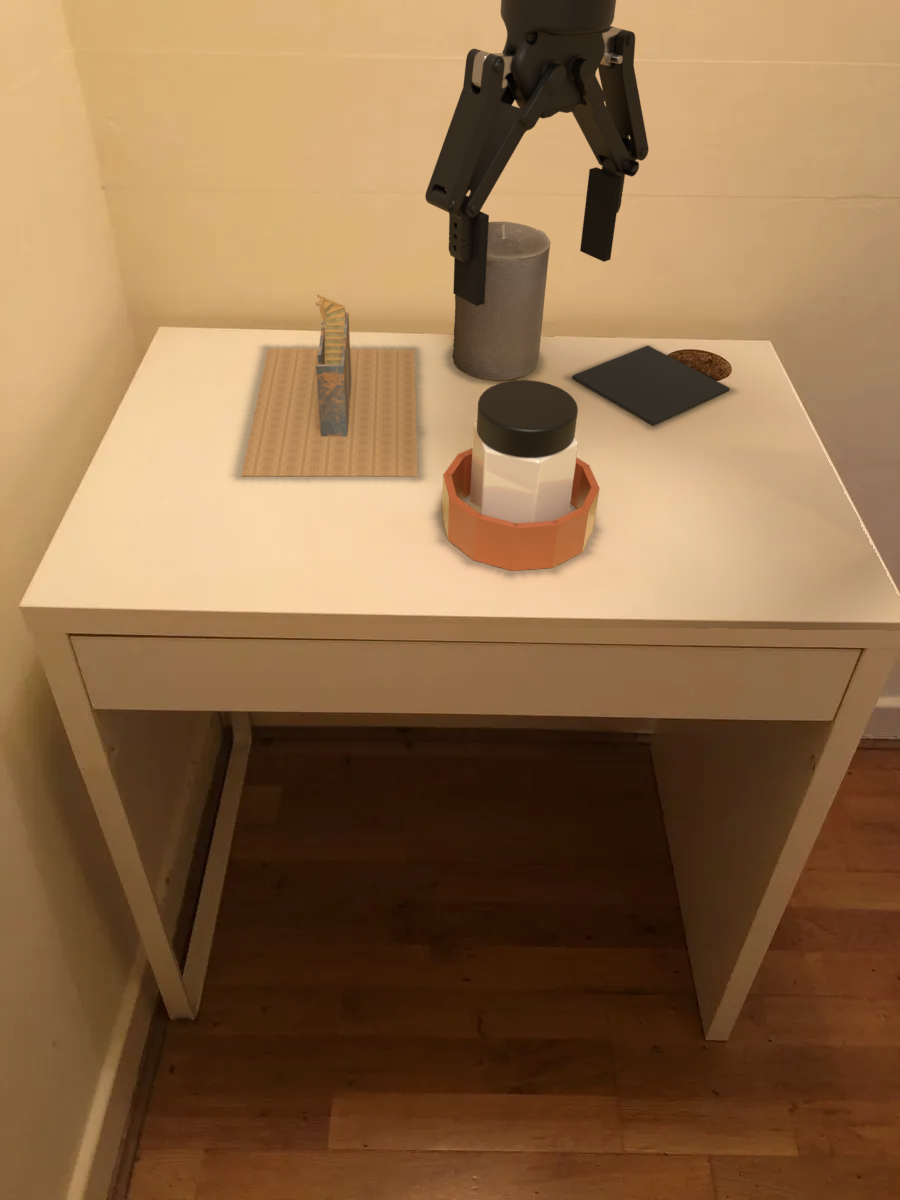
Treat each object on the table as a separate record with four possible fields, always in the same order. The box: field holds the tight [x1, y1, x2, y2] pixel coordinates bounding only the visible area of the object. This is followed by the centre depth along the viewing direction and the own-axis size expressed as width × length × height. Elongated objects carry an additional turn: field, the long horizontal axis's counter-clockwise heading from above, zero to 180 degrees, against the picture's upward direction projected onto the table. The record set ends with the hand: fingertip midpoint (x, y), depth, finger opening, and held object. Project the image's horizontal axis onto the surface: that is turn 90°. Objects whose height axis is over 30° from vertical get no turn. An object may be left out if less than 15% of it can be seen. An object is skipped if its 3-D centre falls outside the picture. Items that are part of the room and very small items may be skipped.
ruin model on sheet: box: [241, 294, 418, 477], centre depth 98 cm, size 25×16×10 cm, turn 2°
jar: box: [469, 379, 579, 523], centre depth 83 cm, size 9×8×12 cm
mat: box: [571, 345, 731, 426], centre depth 106 cm, size 12×12×1 cm
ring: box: [441, 447, 601, 572], centre depth 86 cm, size 13×13×4 cm
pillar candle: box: [451, 221, 552, 381], centre depth 104 cm, size 10×10×15 cm
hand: (534, 276), depth 77 cm, fingers open, 13 cm apart
